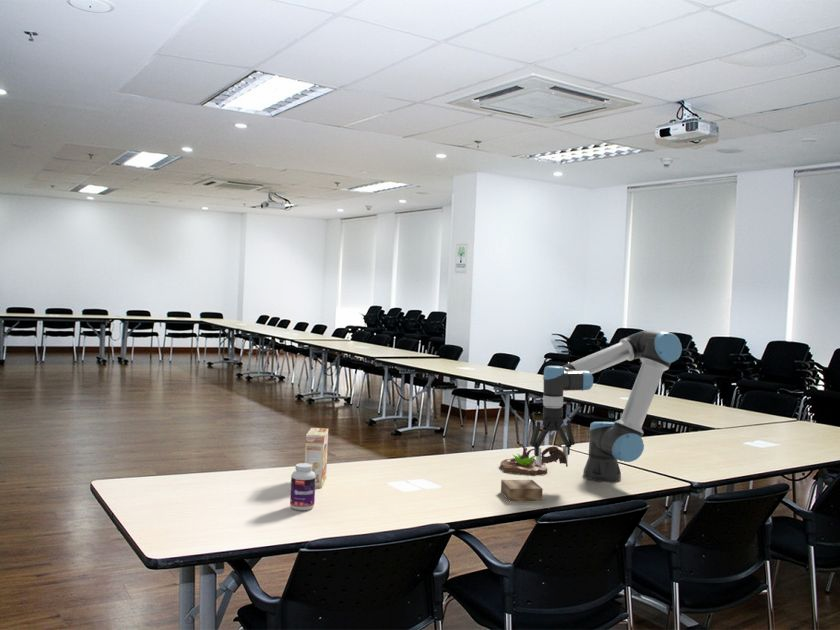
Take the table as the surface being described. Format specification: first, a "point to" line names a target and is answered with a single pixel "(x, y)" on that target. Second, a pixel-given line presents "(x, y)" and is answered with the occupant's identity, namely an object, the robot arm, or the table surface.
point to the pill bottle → (302, 487)
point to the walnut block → (521, 490)
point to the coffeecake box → (317, 453)
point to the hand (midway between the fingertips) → (551, 463)
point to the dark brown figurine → (553, 456)
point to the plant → (523, 464)
